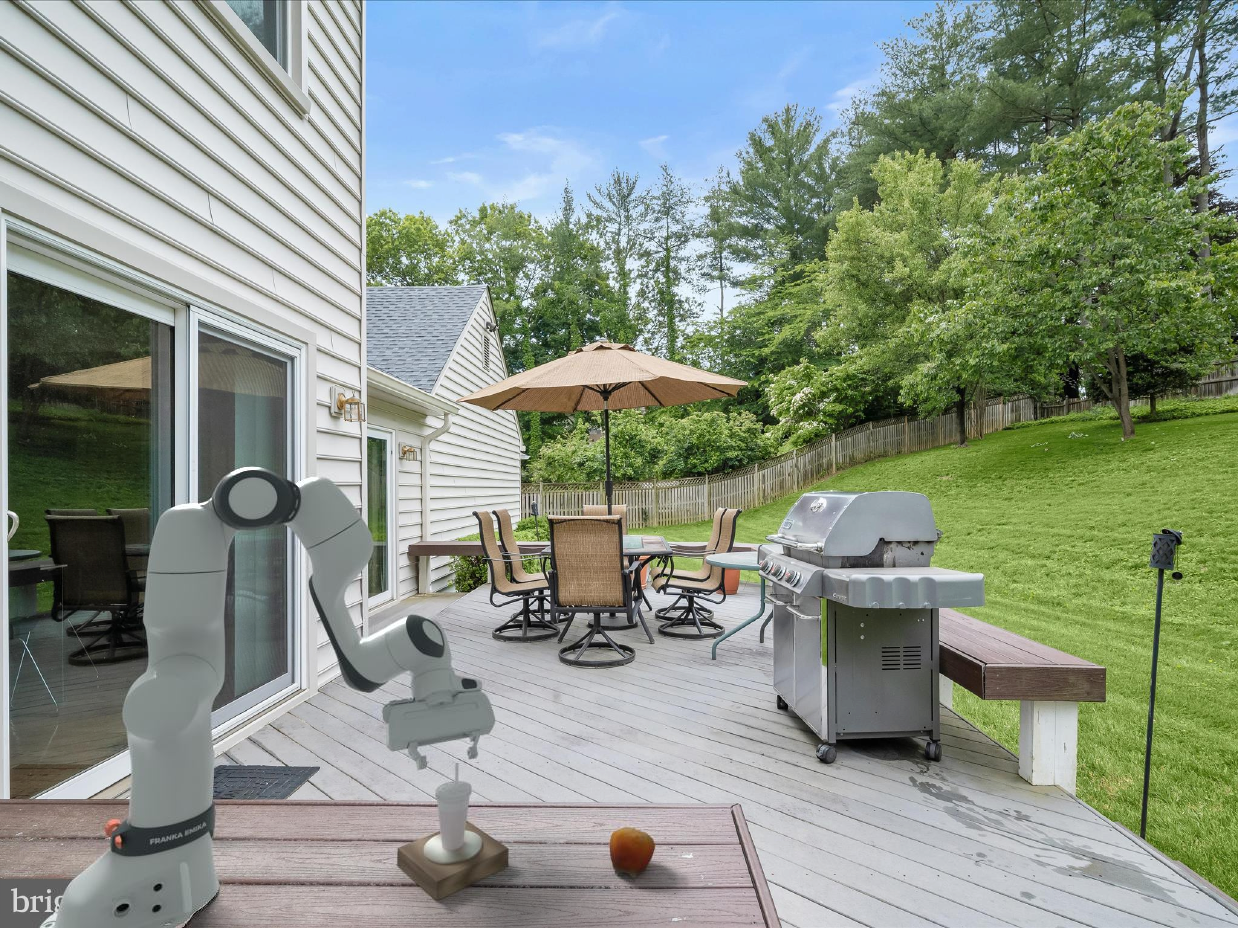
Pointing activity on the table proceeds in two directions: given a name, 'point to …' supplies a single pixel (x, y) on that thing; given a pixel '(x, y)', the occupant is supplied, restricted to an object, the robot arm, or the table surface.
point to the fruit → (631, 850)
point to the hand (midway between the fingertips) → (448, 762)
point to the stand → (451, 861)
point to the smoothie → (453, 811)
